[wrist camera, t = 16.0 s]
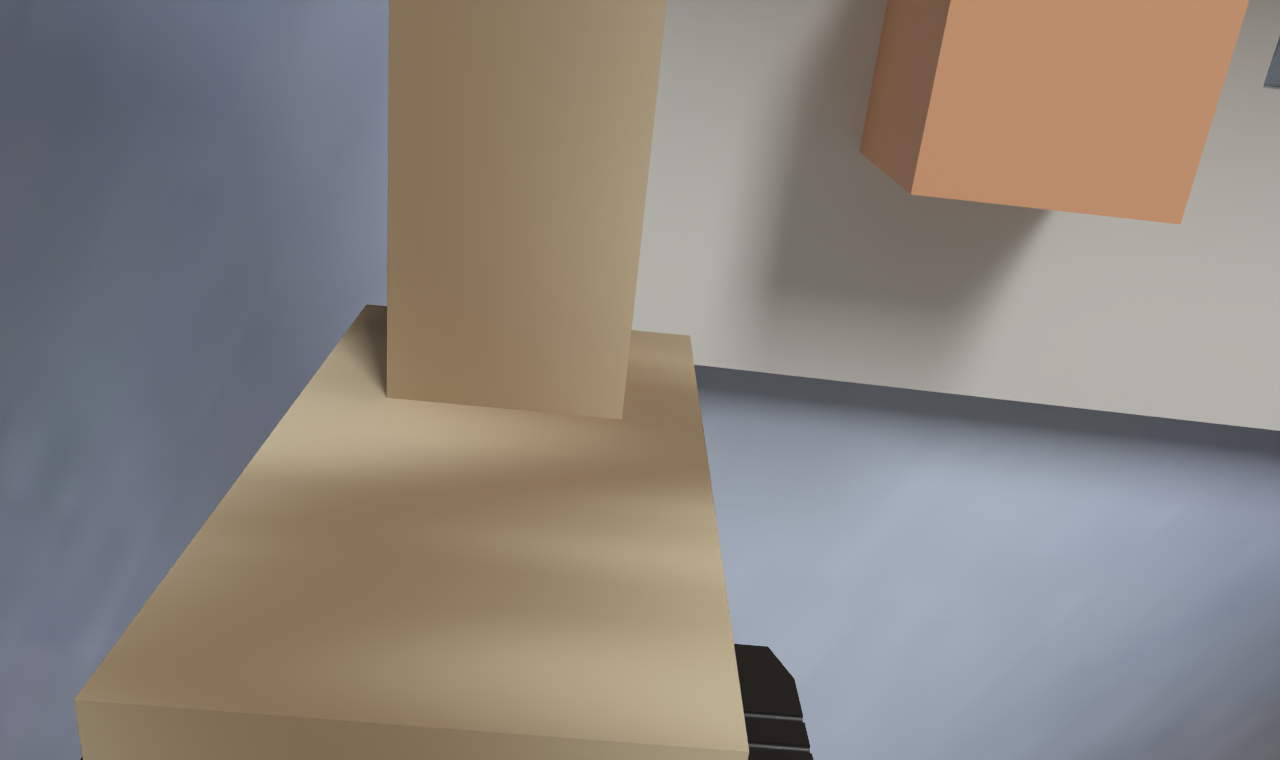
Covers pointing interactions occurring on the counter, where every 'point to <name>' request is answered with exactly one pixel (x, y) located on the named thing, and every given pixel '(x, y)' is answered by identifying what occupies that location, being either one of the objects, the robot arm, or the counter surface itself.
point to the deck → (944, 238)
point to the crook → (468, 456)
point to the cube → (1050, 101)
